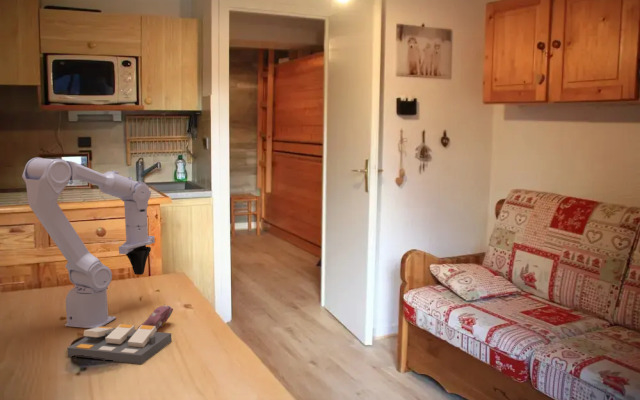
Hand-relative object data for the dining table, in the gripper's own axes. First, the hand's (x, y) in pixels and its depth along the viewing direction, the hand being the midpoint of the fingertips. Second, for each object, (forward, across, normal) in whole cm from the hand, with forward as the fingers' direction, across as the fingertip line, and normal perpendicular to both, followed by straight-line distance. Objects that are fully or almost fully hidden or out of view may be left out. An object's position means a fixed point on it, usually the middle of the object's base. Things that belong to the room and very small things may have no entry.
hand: (139, 274), depth 157 cm
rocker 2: (+6, -27, -12) cm, 30 cm away
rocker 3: (+6, -27, -17) cm, 32 cm away
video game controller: (+10, -14, -13) cm, 22 cm away
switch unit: (+9, -27, -12) cm, 31 cm away
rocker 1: (+6, -27, -6) cm, 28 cm away
